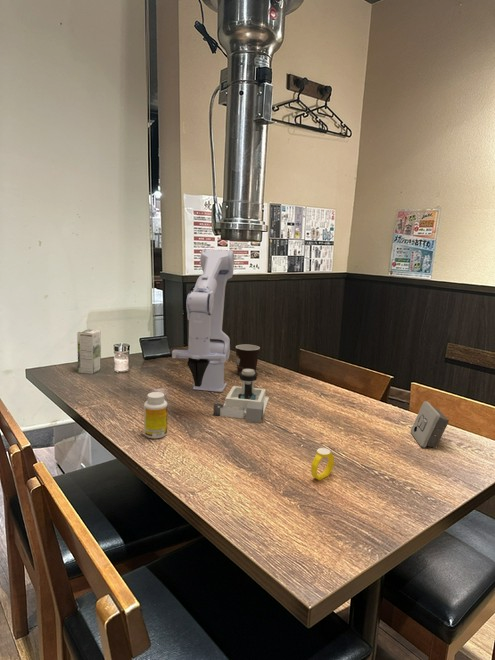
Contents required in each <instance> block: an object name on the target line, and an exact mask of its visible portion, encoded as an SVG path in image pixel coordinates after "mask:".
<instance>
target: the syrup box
mask: <svg viewBox="0 0 495 660" xmlns="http://www.w3.org/2000/svg"><path fill="white" fill-rule="evenodd" d="M76 336H77V373H78V374H89V375H90V374H91V375H94V374H95V373H97V372H99V371H100V370H101V369H102V366H101V364H102V362H101V361H102V353H101V351H102V350H101V349H102V347H101V346H102V344H101V343H102V342H101V340H102V339H101V337H102V336H101V330H99V329H92V328H88V329H86V328H85V329H83V330H81V331H78V332H77V334H76Z"/></svg>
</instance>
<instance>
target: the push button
mask: <svg viewBox="0 0 495 660" xmlns="http://www.w3.org/2000/svg"><path fill="white" fill-rule="evenodd" d="M239 375H240V376H239ZM239 375H238V376H239V379H240V380H241V387H242V391H241V394H239V395H238V398H239V399H249V400H258V399H256V398H259V396H257V397H256V395H255V394H253V393H254V388H255V381H256V380H257V377H258V375H259V374H258V373H257V371H256V372H255V371H254V370H253V369H243V370H242V372H240V373H239Z"/></svg>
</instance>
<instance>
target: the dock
mask: <svg viewBox="0 0 495 660" xmlns="http://www.w3.org/2000/svg"><path fill="white" fill-rule="evenodd" d="M241 391H242V386H237V385H233V386H232V388H231V389H230V391H229V392H228V393H227V395H226V397H225V400H224V401H225V402H224V404H223V405H225V406H234V407H244V408H245V414H244V415H245V422H249V423H256V424H257V423H258V424H261V423H262V418H263V416H264V414H265V411H266V408H267V405H268V402H269V399H270V398H269V396H266V389H265V388H260V387H259V388H255V387H254V393H253V394H255V395H256V397H257V396H259V398H256V399H258V400H249V399H239V398H238V395H239V394H241Z"/></svg>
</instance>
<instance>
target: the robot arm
mask: <svg viewBox="0 0 495 660" xmlns="http://www.w3.org/2000/svg"><path fill="white" fill-rule="evenodd" d="M199 262H200V263H199V264H200V267H201V270H202V274H201V275H199V277H198V278H197V280H196V282H195V285H194V288H193V290H192V291H191V292H190V293H188V294H187V297H186V302H185V303H186V305H185V306H186V313H187V314H186V315H187V320H188V345H187V346H188V349H173V350H172V351H171V356H172V357H171V358H172V359H183V360H184V359H185V360H186V359H187V362H186V363H187V364H186V365H187V367H188V368H189V371H190V372H191V373H190V374H191V376H192V379H193V386H192V387H193V388H192V389H193V390H196V391H206V392H217V393H222V392H223V391H224V390H225V388H226V386H227V385H228V383H227V382H225V363H226V362H227V361H228V360H229V357H230V354H231V353H230V351H231V344H230V342H231V339H230V337H229V335H227V334H226V333H225V332H224V331H223V320H224V307H225V293H226V285H227V282H228V280H229V279H232V278H233V275H234V267H235V253H234V251H233V250H232V249H230V250H225V249H224V250H223V249H207V248H203V249H202V250H201V252H200V260H199ZM219 340H220V341H219Z"/></svg>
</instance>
